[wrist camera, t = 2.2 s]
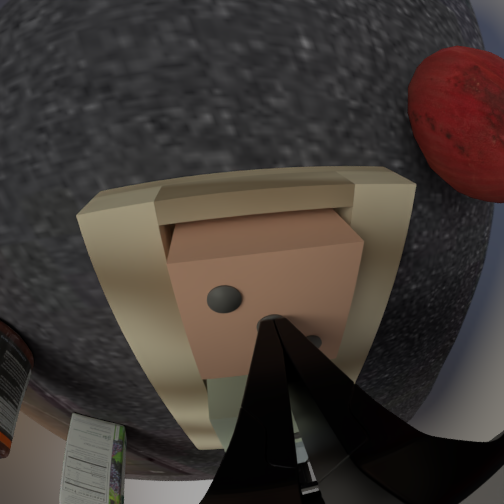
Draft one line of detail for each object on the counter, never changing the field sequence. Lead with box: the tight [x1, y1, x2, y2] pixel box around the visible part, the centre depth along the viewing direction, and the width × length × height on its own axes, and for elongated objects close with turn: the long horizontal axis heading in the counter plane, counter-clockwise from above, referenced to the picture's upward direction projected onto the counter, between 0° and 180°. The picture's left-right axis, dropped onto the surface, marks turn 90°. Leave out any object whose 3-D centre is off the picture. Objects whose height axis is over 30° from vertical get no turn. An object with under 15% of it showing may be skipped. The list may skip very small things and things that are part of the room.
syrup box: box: [59, 413, 127, 504], centre depth 14 cm, size 6×6×14 cm
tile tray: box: [76, 166, 416, 450], centre depth 15 cm, size 22×12×2 cm, turn 2°
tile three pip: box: [166, 208, 364, 380], centre depth 10 cm, size 6×6×3 cm
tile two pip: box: [207, 375, 302, 452], centre depth 13 cm, size 6×6×3 cm
